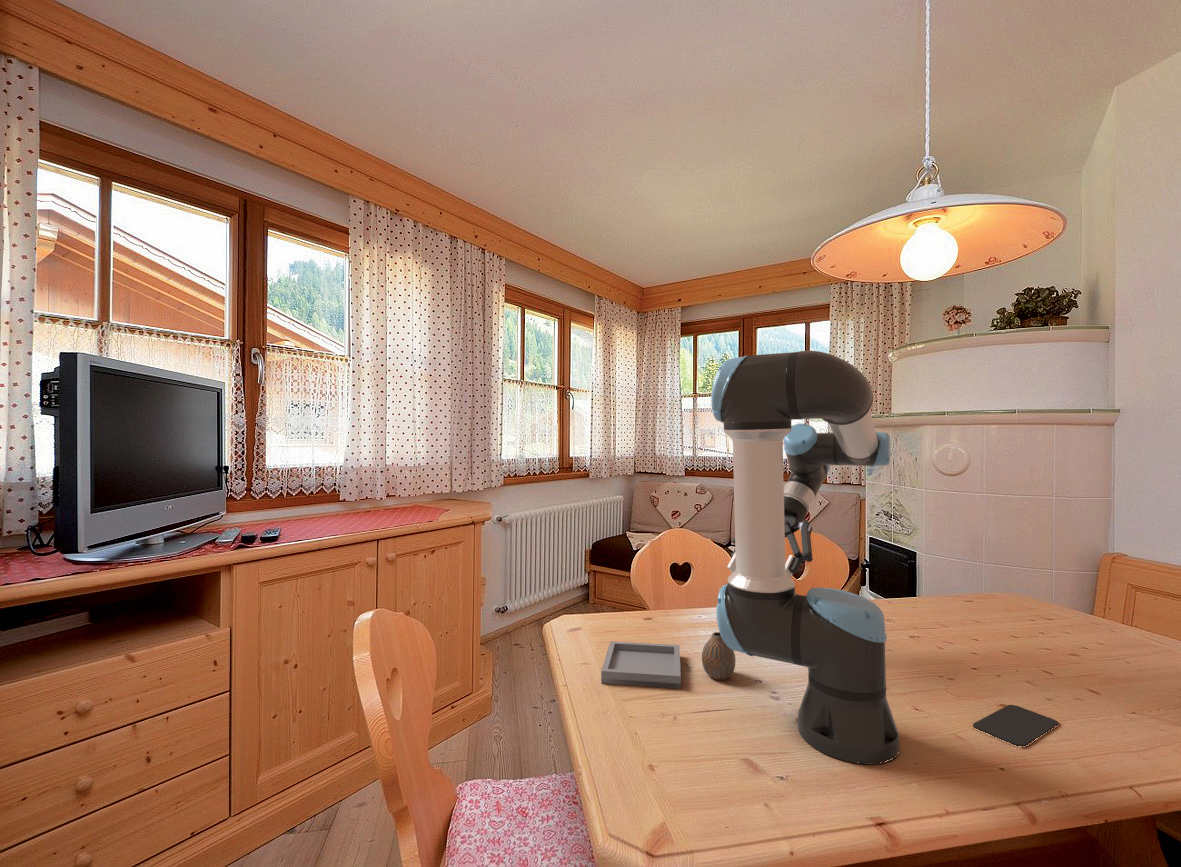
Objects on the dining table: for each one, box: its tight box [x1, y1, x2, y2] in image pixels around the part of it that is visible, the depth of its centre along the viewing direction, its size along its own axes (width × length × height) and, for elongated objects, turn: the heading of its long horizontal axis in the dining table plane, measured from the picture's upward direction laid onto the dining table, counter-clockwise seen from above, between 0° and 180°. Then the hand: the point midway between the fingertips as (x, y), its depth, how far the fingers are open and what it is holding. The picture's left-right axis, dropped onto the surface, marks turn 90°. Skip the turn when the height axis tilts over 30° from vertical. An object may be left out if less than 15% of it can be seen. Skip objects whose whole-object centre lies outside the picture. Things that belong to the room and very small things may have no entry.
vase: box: [701, 631, 736, 681], centre depth 108 cm, size 7×7×9 cm
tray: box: [600, 640, 682, 690], centre depth 112 cm, size 16×16×2 cm
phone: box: [972, 704, 1060, 747], centre depth 89 cm, size 7×1×15 cm
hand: (755, 576), depth 117 cm, fingers open, 13 cm apart
